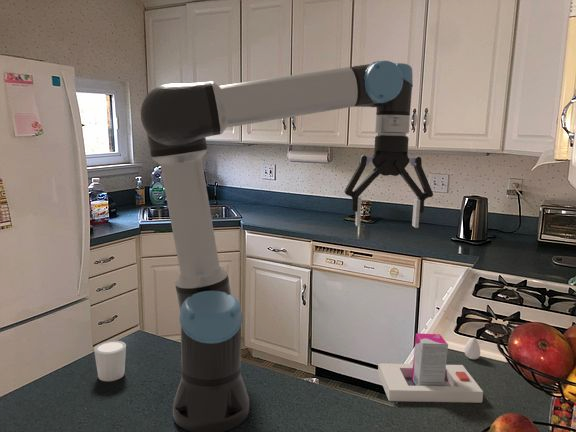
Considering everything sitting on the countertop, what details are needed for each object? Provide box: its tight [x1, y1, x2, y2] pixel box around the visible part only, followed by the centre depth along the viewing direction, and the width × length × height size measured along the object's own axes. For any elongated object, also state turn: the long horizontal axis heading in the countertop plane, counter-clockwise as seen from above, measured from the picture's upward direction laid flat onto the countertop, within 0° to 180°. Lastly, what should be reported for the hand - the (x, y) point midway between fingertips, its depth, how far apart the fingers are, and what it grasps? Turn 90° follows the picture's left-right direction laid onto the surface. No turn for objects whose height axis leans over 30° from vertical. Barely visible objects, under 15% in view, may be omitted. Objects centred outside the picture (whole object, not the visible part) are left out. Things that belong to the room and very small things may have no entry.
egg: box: [463, 337, 481, 360], centre depth 122 cm, size 4×4×6 cm
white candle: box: [93, 340, 127, 382], centre depth 109 cm, size 7×7×7 cm
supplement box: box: [412, 332, 449, 386], centre depth 107 cm, size 6×6×12 cm
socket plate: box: [377, 363, 484, 404], centre depth 107 cm, size 20×12×3 cm, turn 91°
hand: (386, 226), depth 113 cm, fingers open, 13 cm apart
